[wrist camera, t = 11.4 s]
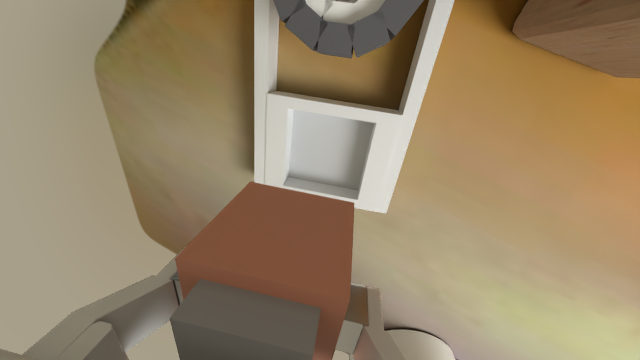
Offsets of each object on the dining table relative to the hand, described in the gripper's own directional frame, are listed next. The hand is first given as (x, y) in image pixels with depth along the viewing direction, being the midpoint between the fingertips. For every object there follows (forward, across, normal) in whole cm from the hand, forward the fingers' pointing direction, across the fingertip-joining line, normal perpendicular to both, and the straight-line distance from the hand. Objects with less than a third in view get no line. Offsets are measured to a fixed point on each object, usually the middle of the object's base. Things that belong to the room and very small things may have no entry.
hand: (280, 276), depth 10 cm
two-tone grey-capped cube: (+3, 0, 0) cm, 3 cm away
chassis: (+17, 0, -6) cm, 18 cm away
